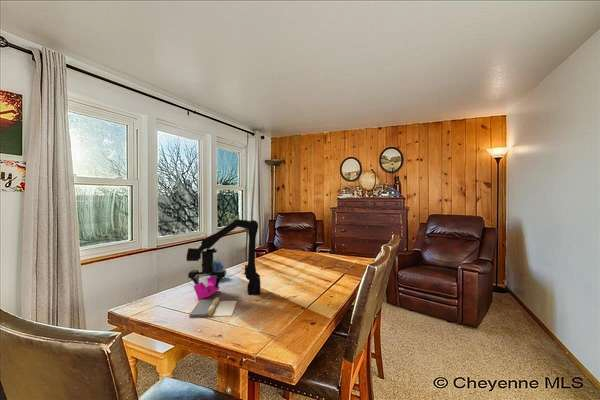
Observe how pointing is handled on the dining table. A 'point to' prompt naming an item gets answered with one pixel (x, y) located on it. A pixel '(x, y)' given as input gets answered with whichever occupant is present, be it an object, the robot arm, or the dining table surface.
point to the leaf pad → (225, 308)
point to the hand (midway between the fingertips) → (207, 289)
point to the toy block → (206, 288)
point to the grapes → (217, 267)
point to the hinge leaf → (204, 307)
